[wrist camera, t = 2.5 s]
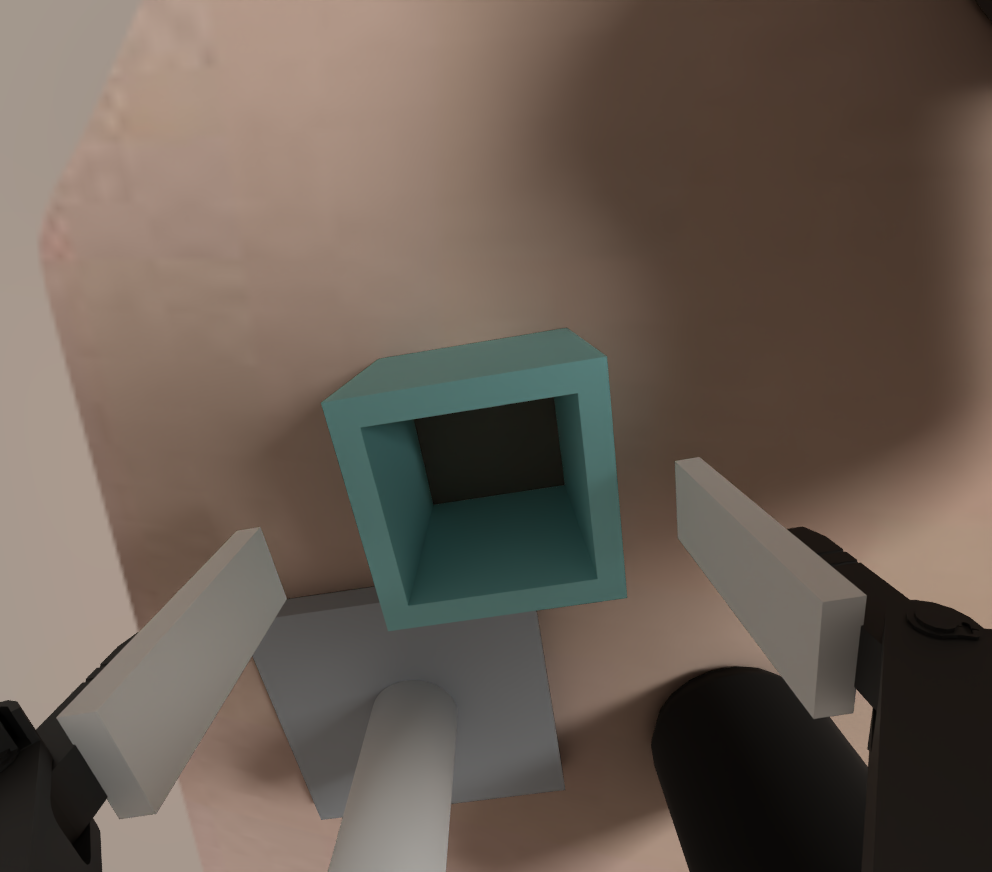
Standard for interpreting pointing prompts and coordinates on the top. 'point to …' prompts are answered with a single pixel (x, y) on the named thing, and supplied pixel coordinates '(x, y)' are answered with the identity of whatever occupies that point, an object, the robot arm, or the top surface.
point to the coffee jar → (758, 778)
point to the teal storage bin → (487, 520)
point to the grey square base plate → (407, 721)
